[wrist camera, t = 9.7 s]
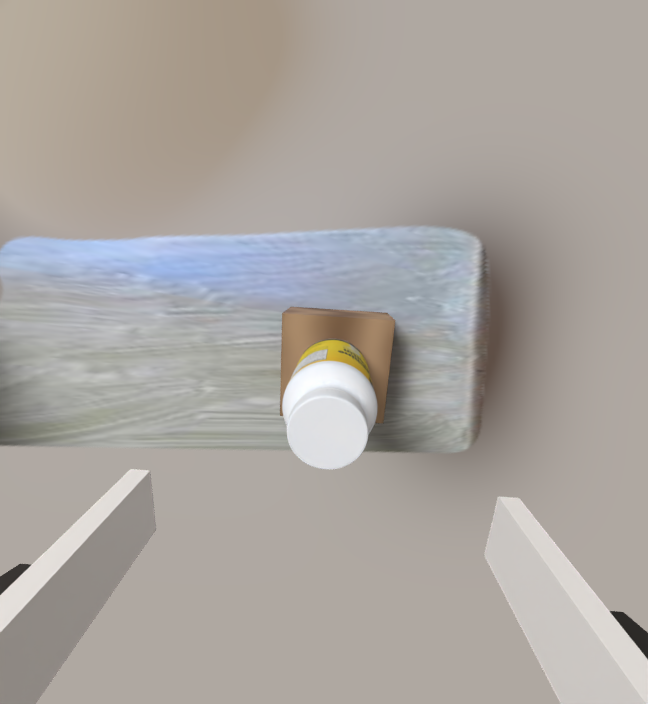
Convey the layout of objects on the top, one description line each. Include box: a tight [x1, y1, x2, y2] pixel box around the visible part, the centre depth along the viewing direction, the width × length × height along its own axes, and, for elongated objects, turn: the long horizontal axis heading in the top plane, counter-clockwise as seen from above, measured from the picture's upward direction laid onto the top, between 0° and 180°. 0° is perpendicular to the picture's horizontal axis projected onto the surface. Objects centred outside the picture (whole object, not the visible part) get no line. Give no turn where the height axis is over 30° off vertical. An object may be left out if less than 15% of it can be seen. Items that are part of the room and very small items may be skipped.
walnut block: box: [280, 307, 395, 423], centre depth 31 cm, size 10×10×5 cm
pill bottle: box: [282, 339, 377, 469], centre depth 23 cm, size 6×6×12 cm
